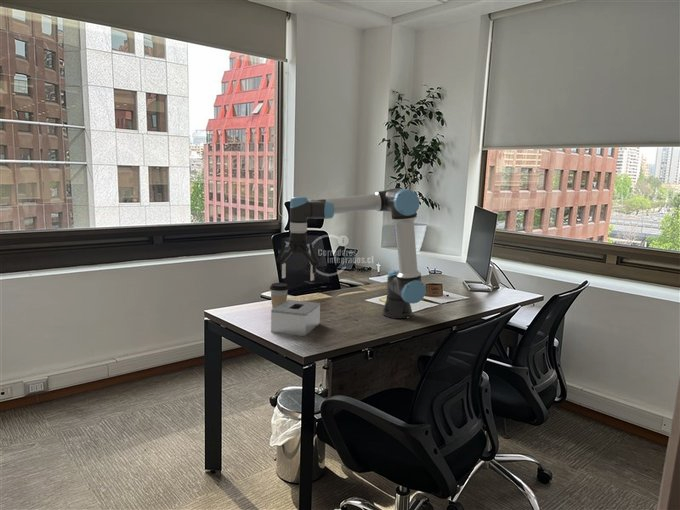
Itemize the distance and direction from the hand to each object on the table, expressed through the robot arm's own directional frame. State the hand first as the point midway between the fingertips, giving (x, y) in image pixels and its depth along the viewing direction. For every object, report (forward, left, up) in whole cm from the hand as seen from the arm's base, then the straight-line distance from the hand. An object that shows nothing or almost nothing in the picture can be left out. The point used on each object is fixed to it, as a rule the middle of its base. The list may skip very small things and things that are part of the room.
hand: (297, 279), depth 222 cm
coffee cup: (+16, -18, -23) cm, 33 cm away
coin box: (0, 0, -23) cm, 23 cm away
